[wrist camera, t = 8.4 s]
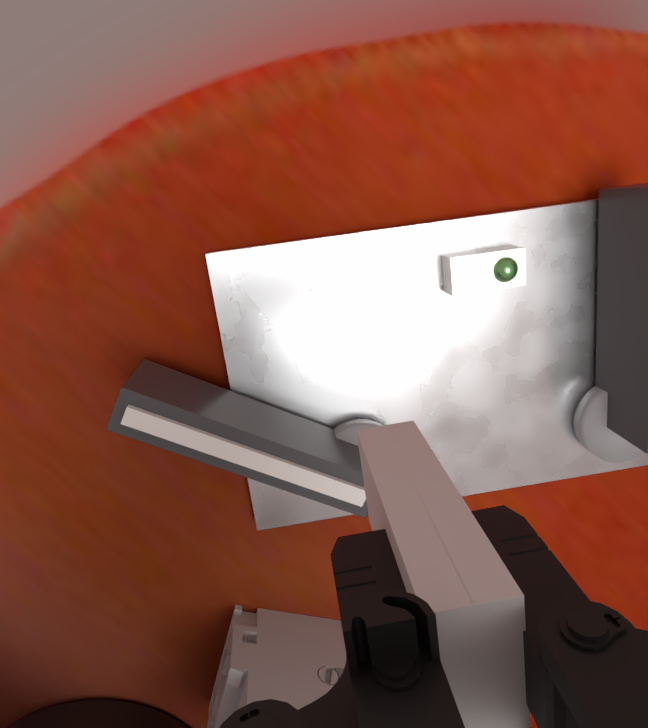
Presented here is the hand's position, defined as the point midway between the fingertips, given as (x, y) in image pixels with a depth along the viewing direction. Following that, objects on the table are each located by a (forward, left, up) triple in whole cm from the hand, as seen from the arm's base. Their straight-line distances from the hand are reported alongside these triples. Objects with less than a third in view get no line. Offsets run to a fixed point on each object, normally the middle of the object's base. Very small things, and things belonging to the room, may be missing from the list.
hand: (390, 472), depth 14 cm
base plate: (+7, -2, -15) cm, 16 cm away
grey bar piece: (-4, -4, -13) cm, 14 cm away
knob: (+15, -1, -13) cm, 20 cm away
